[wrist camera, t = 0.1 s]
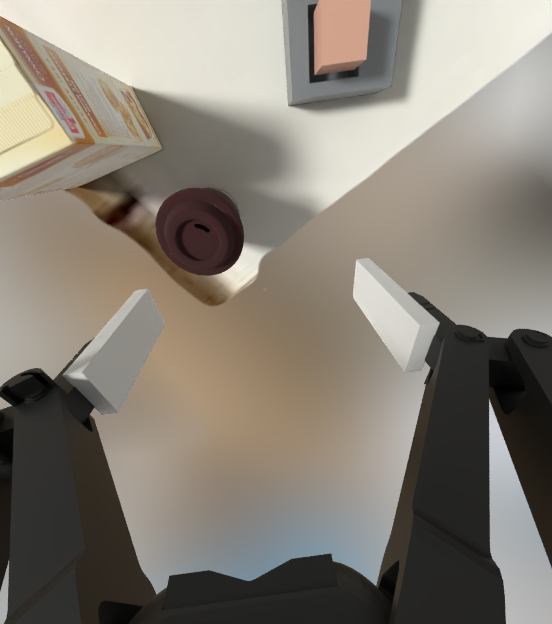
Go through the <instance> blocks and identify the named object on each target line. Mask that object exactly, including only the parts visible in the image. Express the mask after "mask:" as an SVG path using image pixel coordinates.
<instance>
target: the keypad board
mask: <svg viewBox="0 0 552 624" xmlns="http://www.w3.org/2000/svg"><path fill="white" fill-rule="evenodd" d="M318 2H319V0H282V14H283V30H284V45H285V61H286V77H287V93H288V106H289V105H296V104H303V103H310V102H317V101H324V100H331V99H338V98H345V97H352V96H359V95H366V94H373V93H378V92H380V91H382V90H384V89H386V88H388V87H390V86H391V84H392V77H393V69H394V61H395V53H396V45H397V37H398V30H399V22H400V14H401V6H402V0H371V6H370V19H369V32H368V45H367V57H366V60H365V61H364V62H363V63H361V64H360V65H359V66H358V67H357V68H356V69H354V70H348V71H342V72H335V73H328V74H321V75H315V72H314V11H315V9H316V6H317V4H318Z"/></svg>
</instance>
